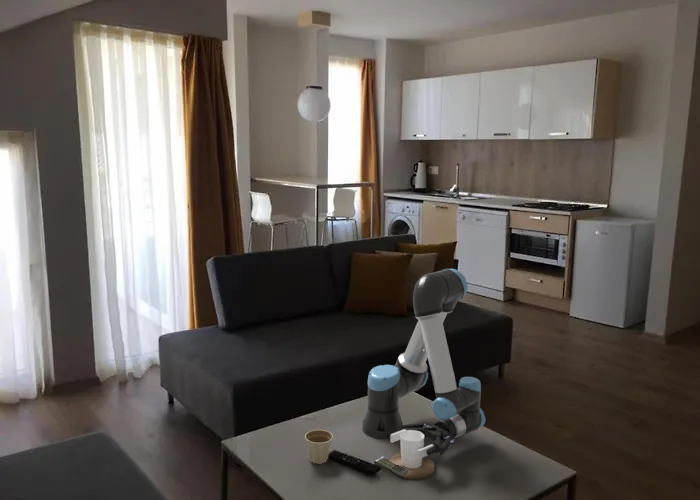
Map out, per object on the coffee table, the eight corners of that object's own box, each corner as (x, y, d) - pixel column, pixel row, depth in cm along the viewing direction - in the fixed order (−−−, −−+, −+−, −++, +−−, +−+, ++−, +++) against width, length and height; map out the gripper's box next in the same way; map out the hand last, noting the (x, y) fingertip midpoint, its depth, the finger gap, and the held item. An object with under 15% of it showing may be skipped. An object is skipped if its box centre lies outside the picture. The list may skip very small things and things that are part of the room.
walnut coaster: (379, 464, 200) (379, 461, 200) (411, 451, 209) (412, 447, 209) (410, 484, 189) (410, 481, 188) (443, 469, 198) (443, 466, 198)
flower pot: (337, 456, 205) (337, 433, 203) (324, 469, 197) (325, 445, 195) (313, 450, 209) (313, 427, 207) (299, 463, 200) (299, 439, 199)
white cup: (422, 471, 194) (423, 442, 193) (398, 468, 196) (398, 439, 194) (424, 459, 202) (425, 431, 200) (401, 456, 203) (401, 428, 202)
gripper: (476, 452, 200) (430, 473, 187) (424, 425, 219) (379, 442, 206) (477, 431, 198) (431, 450, 185) (425, 405, 217) (380, 421, 204)
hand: (404, 446), depth 195 cm, fingers open, 12 cm apart
